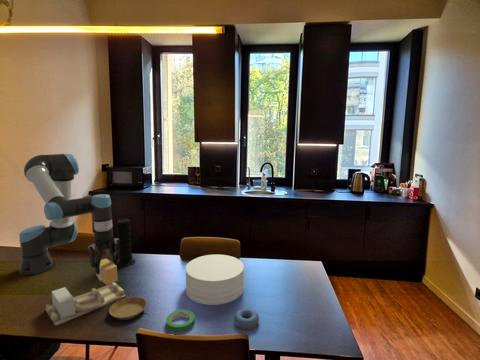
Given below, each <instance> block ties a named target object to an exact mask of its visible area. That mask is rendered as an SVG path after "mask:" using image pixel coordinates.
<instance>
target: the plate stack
mask: <svg viewBox="0 0 480 360" xmlns="http://www.w3.org/2000/svg"><path fill="white" fill-rule="evenodd" d="M244 276H245V265H244V263H243V262H242V260H241V259H239V258H237V257H235V256H231V255H227V254H205V255H202V256H198V257H196V258H194V259H192V260H190V261H189V262H188V263H187V264H186V266H185V292H186V296H187V297H188V298H189V299H191V300H192V301H194V302H196V303H198V304H201V305H209V306H210V305H211V306H219V305H224V304H228V303H230V302H234V301H235V300H237V299H239V297H241V296H242V294H243V292H244V290H245V287H244V286H245V285H244V283H245V281H244V280H245V279H244V278H245V277H244Z"/></svg>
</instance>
